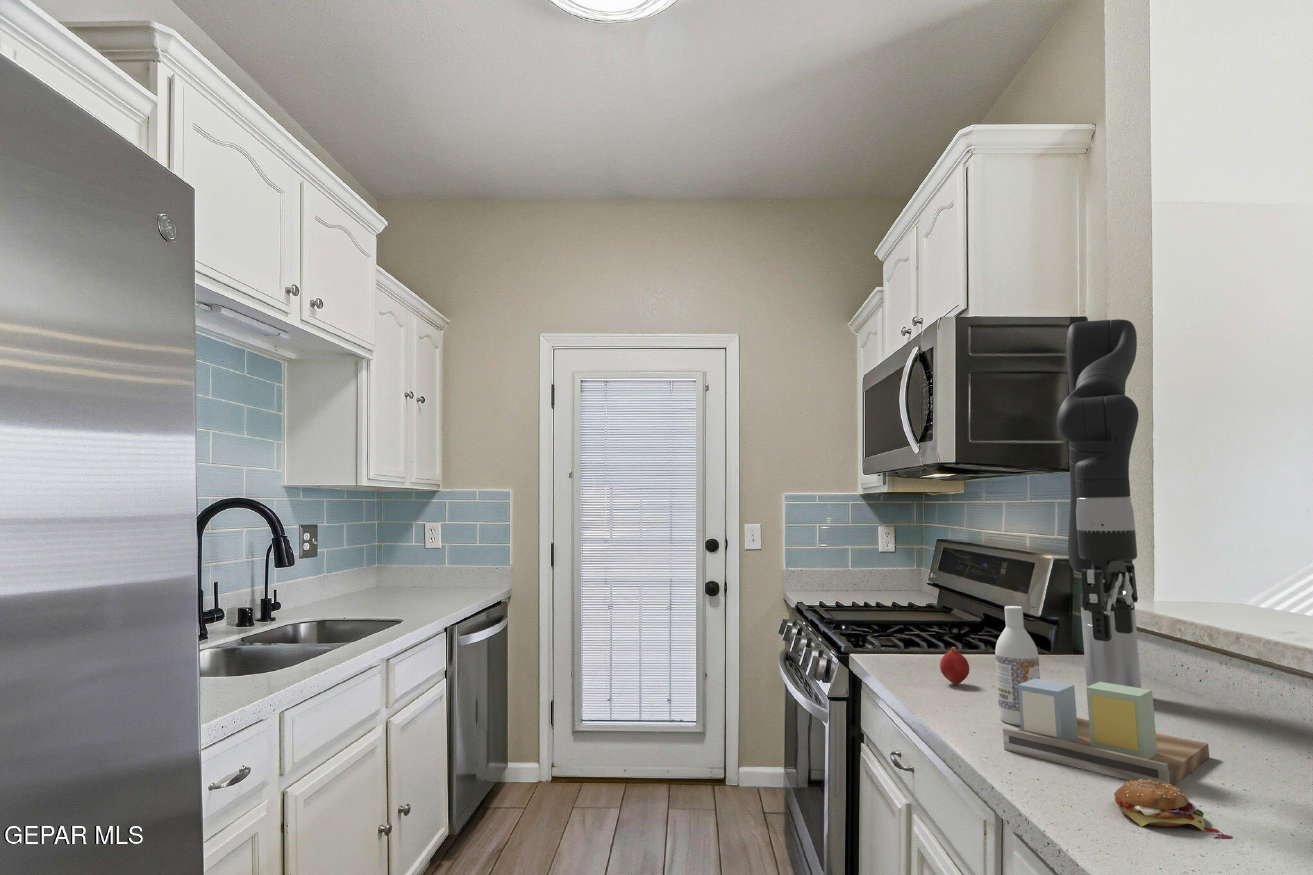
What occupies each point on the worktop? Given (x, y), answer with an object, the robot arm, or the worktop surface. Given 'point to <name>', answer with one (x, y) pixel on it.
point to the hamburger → (1159, 805)
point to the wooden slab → (1112, 755)
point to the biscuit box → (1048, 709)
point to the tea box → (1122, 719)
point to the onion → (954, 666)
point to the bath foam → (1014, 664)
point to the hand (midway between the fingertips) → (1113, 636)
